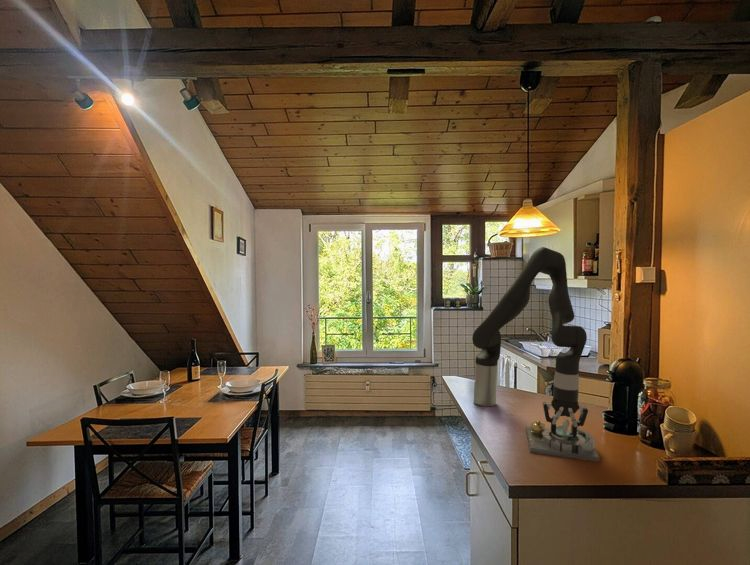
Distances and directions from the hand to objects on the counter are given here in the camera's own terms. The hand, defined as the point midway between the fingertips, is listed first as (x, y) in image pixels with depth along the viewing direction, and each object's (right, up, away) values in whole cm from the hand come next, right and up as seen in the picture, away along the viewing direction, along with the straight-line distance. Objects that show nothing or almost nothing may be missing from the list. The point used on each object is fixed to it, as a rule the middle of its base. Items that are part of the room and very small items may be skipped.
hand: (563, 435), depth 137 cm
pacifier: (-1, -1, 0) cm, 1 cm away
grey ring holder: (-1, -4, +1) cm, 4 cm away
